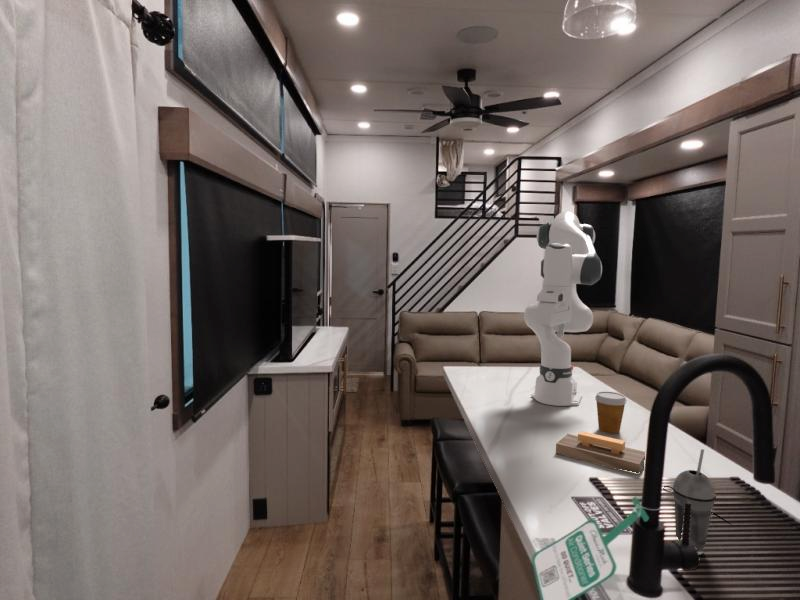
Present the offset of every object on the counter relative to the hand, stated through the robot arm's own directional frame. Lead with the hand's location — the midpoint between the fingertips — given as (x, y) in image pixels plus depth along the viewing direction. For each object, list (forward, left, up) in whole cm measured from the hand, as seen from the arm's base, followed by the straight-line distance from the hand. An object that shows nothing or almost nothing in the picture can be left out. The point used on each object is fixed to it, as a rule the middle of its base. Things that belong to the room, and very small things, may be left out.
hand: (554, 338), depth 153 cm
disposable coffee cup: (-15, +14, -31) cm, 37 cm away
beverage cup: (+44, +44, -31) cm, 70 cm away
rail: (+10, +18, -31) cm, 37 cm away
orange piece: (+10, +18, -31) cm, 37 cm away
